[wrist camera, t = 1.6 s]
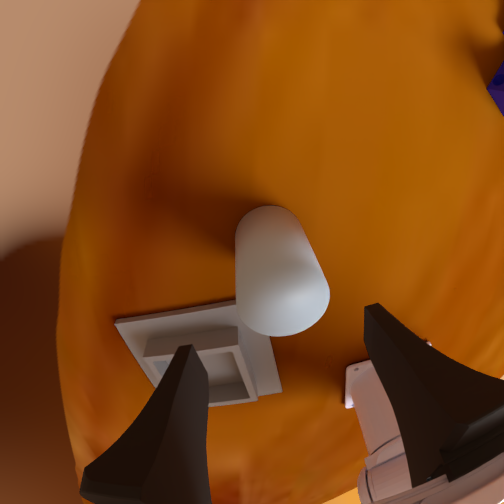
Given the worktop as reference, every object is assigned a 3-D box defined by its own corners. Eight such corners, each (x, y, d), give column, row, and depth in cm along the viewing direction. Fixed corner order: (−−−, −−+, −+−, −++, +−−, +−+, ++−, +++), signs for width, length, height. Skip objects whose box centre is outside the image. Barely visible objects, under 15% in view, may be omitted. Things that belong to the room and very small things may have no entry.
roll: (297, 199, 20) (326, 252, 13) (305, 258, 22) (331, 326, 16) (228, 213, 20) (225, 272, 14) (243, 271, 22) (247, 343, 16)
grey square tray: (259, 294, 23) (262, 317, 21) (281, 387, 29) (284, 408, 26) (116, 319, 24) (107, 340, 21) (168, 401, 29) (166, 421, 27)
